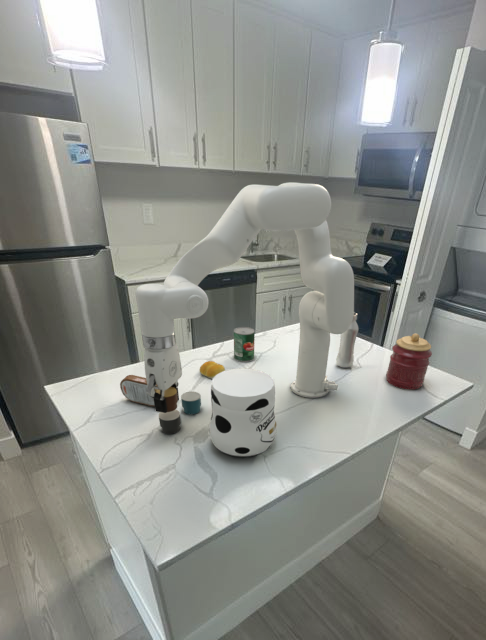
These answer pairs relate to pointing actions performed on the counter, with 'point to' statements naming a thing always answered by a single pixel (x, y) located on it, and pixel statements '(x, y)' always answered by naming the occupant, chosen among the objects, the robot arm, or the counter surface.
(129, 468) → the counter surface
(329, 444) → the counter surface
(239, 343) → the canned tomato
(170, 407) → the cylinder
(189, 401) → the cylinder
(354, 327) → the plastic bottle
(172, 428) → the black pod
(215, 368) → the bread roll
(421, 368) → the kitchen canister
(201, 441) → the counter surface
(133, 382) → the tin
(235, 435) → the milk container
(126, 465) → the counter surface
